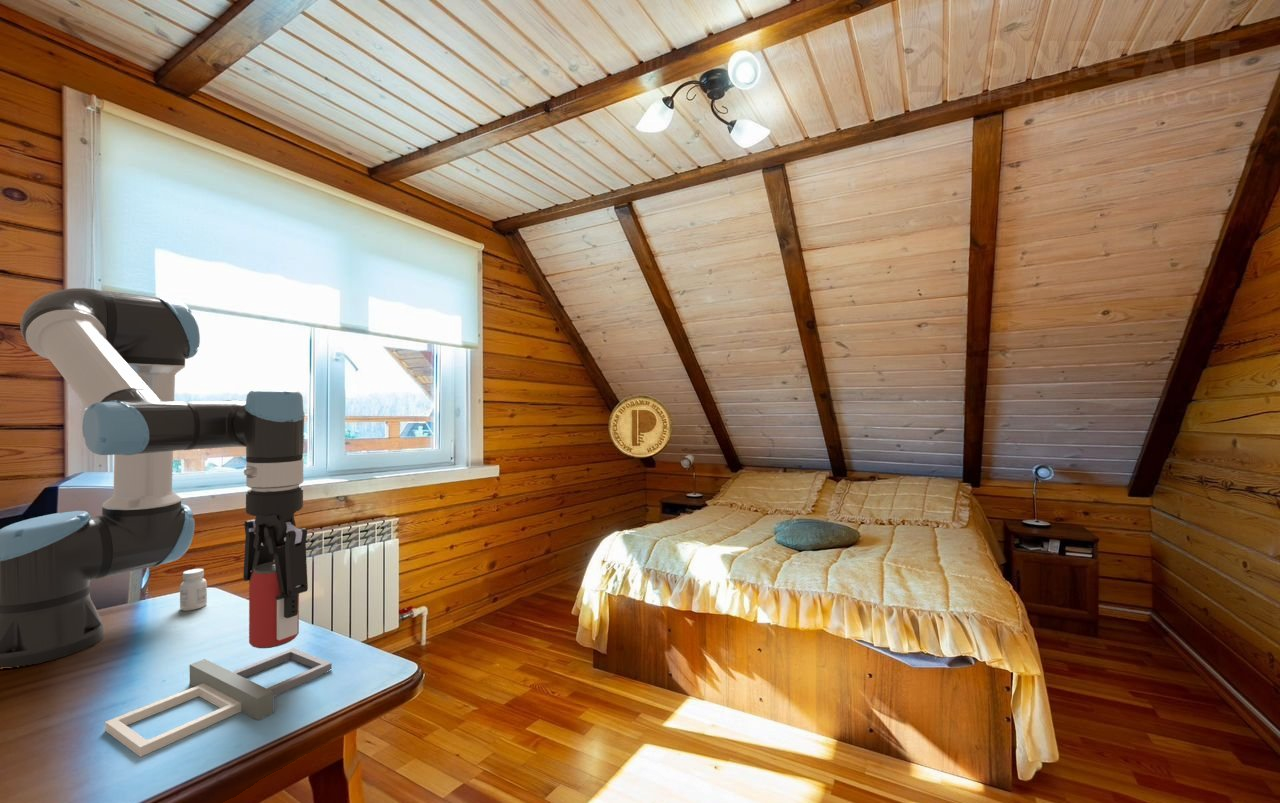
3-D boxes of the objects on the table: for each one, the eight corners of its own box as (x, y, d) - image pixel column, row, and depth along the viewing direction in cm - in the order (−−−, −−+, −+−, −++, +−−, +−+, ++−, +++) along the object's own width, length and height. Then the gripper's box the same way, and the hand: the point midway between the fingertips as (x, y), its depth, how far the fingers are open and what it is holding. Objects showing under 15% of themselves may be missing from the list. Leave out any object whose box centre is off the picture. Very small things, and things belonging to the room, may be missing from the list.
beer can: (273, 652, 82) (274, 574, 81) (237, 647, 83) (238, 570, 83) (308, 633, 88) (309, 561, 88) (275, 629, 89) (275, 557, 89)
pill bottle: (208, 601, 117) (207, 566, 117) (205, 608, 114) (205, 571, 114) (182, 605, 115) (181, 570, 115) (178, 612, 111) (177, 575, 111)
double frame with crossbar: (92, 721, 74) (92, 699, 74) (279, 649, 95) (279, 632, 95) (156, 768, 64) (156, 743, 64) (348, 677, 85) (348, 658, 85)
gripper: (217, 484, 86) (216, 626, 87) (284, 497, 77) (283, 656, 77) (267, 478, 93) (267, 610, 93) (335, 489, 84) (334, 636, 84)
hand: (274, 630), depth 85 cm, fingers closed on beer can, 7 cm apart
